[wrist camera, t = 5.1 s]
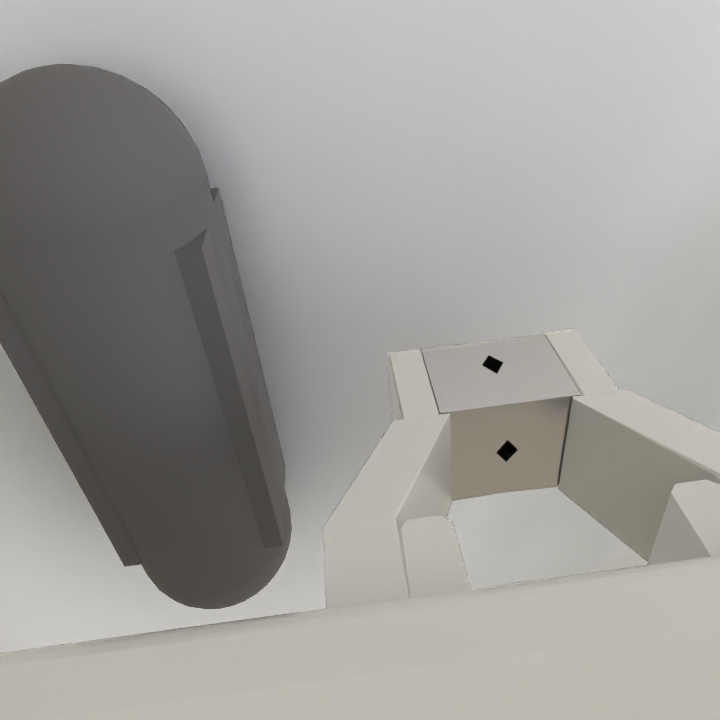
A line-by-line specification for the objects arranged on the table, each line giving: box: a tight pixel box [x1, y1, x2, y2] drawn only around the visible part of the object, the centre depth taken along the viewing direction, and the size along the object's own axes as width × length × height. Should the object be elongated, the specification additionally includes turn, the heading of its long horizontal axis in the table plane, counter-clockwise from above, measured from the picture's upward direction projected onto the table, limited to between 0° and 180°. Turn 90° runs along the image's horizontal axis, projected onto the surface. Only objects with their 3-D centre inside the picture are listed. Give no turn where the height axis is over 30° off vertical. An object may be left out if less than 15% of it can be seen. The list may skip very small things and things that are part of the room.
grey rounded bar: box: [0, 64, 292, 609], centre depth 10 cm, size 10×3×3 cm, turn 5°
